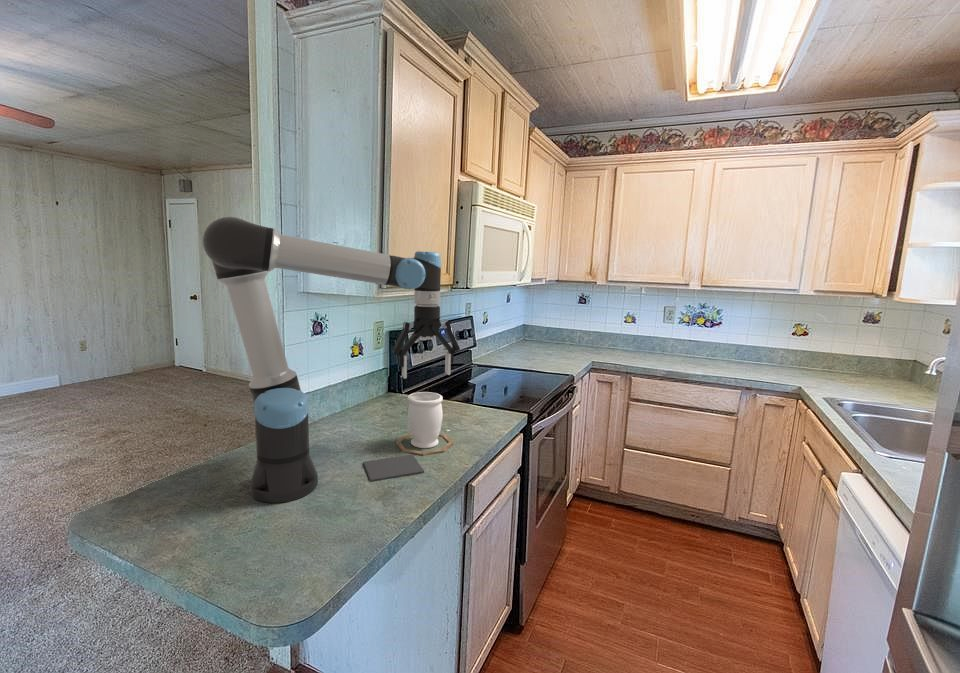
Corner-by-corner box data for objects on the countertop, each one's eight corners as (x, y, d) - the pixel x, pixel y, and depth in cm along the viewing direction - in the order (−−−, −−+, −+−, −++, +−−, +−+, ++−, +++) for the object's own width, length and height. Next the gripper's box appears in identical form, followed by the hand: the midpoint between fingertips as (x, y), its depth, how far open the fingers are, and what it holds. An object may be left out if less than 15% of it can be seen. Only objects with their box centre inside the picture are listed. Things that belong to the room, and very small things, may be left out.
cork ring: (405, 458, 129) (405, 456, 129) (392, 436, 144) (392, 435, 144) (459, 450, 136) (459, 448, 136) (441, 430, 151) (441, 429, 151)
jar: (400, 445, 138) (400, 397, 135) (420, 434, 147) (421, 389, 144) (429, 453, 133) (430, 404, 130) (448, 441, 142) (449, 395, 140)
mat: (371, 481, 115) (371, 479, 115) (363, 463, 125) (363, 461, 125) (424, 472, 121) (424, 471, 121) (412, 455, 131) (412, 454, 131)
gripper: (387, 307, 124) (388, 382, 128) (471, 305, 134) (469, 375, 138) (381, 304, 131) (382, 375, 135) (462, 303, 141) (460, 369, 145)
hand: (426, 375), depth 136 cm, fingers open, 13 cm apart
